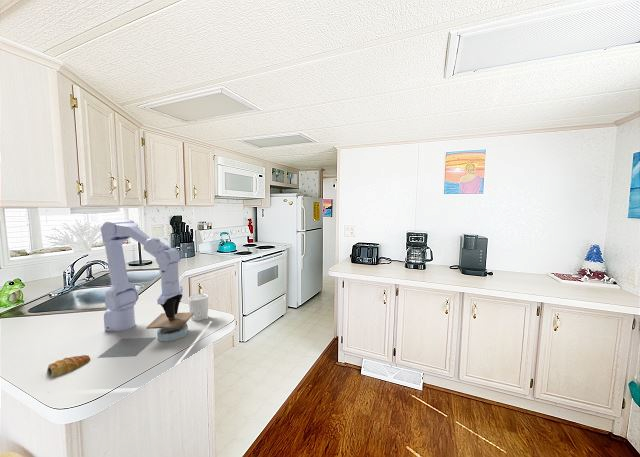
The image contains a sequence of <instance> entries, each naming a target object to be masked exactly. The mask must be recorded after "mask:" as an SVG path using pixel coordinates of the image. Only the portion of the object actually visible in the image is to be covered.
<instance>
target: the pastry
mask: <svg viewBox="0 0 640 457" xmlns="http://www.w3.org/2000/svg"><path fill="white" fill-rule="evenodd" d="M90 361H91V358H90V355H86V354H82V355H75V356H70V357H64V358H62V359H58V360H56V361H55V362H51V363H49V364H48V367H47V370H46V371H47V372H48V373H49V374H51V375H50V378H55V377H59V376H63V375H65V374H68V373H69V372H72V371H75V370H77V369H78V368H80V367H82V366H85V365H86V364H88V363H89V362H90Z"/></svg>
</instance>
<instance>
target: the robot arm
mask: <svg viewBox="0 0 640 457" xmlns="http://www.w3.org/2000/svg"><path fill="white" fill-rule="evenodd" d="M100 232H101V233H100V234H101V239H102V243H103V244H104V248H105V249H104V250H105V254H106V259H107V264H108V265H107V266H108V271H109V277H110V282H111V286H110V287H108V289H107V290H106V291H105V300H104V305H105V307H106V308H107V309H106V310H105V312H104V315H103V323H104V324H103V327H104V331H105V332H106V331H111V332H113V331H114V332H123V331H126V330H130V329H132V328H134V327H135V326H136V316H135V305H137V301H138V300H139V297H140V295H139V292H138V290H137V288H136V287H137V286H136V285H135V284H133V283H132V282H129V277H128V271H127V266H126V259H125V254H124V248H123V244H124V243H125V241H127V240H128V239H130V238H131V239H132V240H133V241H136V242H138V243H139V244H140V245H141V246H142V245H143V250H144V251H146V252H147V253H148V254H149V255H151V256H152V257H154V258H155V262H156V263H157V266H158V269H159V271H160V279H161V280H160V281H161V282H160V284H161V293H160V295H159V297H158V298H157V300H156V302H157V305H160V306H161V308H162V309H163V310H164V311H163V312H164V313H165V314H166V316H167V318H173V316H174V308H175V314H177V313H179V311H178V310H179V307H180V306H179V305H180V303H181V300H182V298H183V290H184V289H183V286H182V285H181V286H180V278H179V274H180V273H179V262H180V261H181V259H182V253H181V251H180V249H178V248H177V247H170V246H169V245H168V244H165V243H164V242H162V241H161V239H159V238H158V237H152V238H151V237H150V236H149V235H148V234H146V233H145V232H144V231H143V230H142V229H141V228H139V225H138V223H137V222H135V221H134V220H132V219H129V220H115V221H114V220H113V221H109V220H108V221H107V220H106V221H105V222H103V224H102V226H101V227H100Z"/></svg>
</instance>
